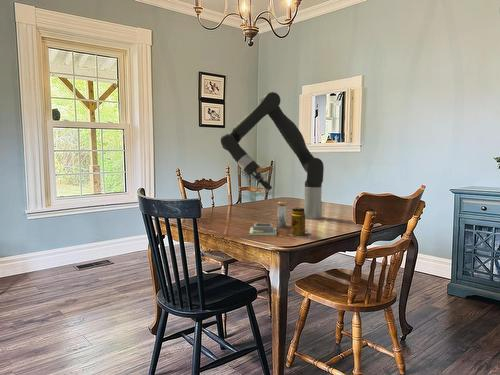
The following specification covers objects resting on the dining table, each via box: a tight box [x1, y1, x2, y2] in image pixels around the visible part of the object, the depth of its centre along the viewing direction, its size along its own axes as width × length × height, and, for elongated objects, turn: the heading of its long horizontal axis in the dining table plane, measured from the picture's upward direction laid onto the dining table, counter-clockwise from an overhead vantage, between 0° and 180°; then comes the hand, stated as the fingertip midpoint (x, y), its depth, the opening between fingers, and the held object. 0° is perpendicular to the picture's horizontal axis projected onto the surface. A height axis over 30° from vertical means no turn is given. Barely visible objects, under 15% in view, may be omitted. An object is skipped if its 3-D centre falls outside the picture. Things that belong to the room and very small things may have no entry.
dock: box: [248, 222, 278, 237], centre depth 173 cm, size 12×12×4 cm
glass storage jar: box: [276, 201, 288, 229], centre depth 187 cm, size 5×5×12 cm
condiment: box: [288, 207, 310, 238], centre depth 169 cm, size 7×8×12 cm
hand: (269, 188), depth 192 cm, fingers open, 8 cm apart
